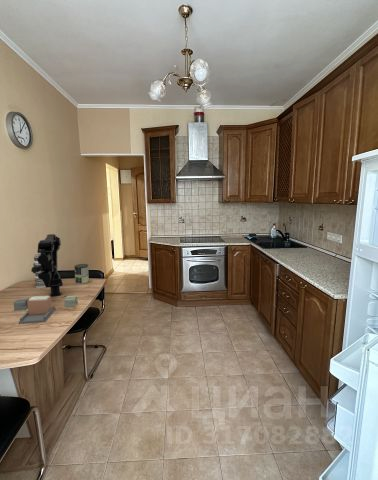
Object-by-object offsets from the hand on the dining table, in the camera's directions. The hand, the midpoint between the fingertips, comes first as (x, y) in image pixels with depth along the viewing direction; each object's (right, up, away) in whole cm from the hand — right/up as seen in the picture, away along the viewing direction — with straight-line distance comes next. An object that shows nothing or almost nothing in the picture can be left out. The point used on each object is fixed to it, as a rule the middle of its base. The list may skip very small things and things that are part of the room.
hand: (49, 284), depth 156 cm
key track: (+2, -15, -15) cm, 21 cm away
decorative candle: (-25, -8, +35) cm, 44 cm away
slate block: (-14, -14, -4) cm, 20 cm away
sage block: (+14, -13, +1) cm, 19 cm away
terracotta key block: (+2, -14, -12) cm, 18 cm away
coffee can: (+1, -7, +45) cm, 46 cm away
